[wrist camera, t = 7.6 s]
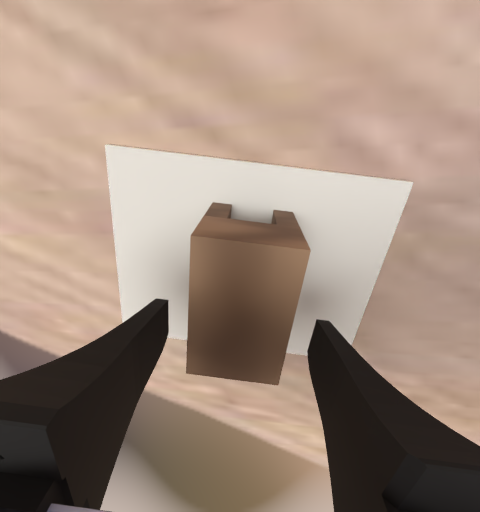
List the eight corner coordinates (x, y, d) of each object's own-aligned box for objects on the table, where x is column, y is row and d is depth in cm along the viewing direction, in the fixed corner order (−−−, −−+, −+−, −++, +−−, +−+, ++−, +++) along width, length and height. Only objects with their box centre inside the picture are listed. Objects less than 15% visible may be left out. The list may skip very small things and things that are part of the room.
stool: (292, 212, 16) (310, 250, 11) (272, 315, 20) (277, 385, 14) (212, 202, 16) (190, 235, 11) (205, 307, 20) (186, 373, 14)
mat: (408, 180, 16) (413, 182, 15) (343, 354, 22) (345, 360, 21) (110, 144, 16) (104, 144, 15) (126, 327, 22) (123, 332, 21)
